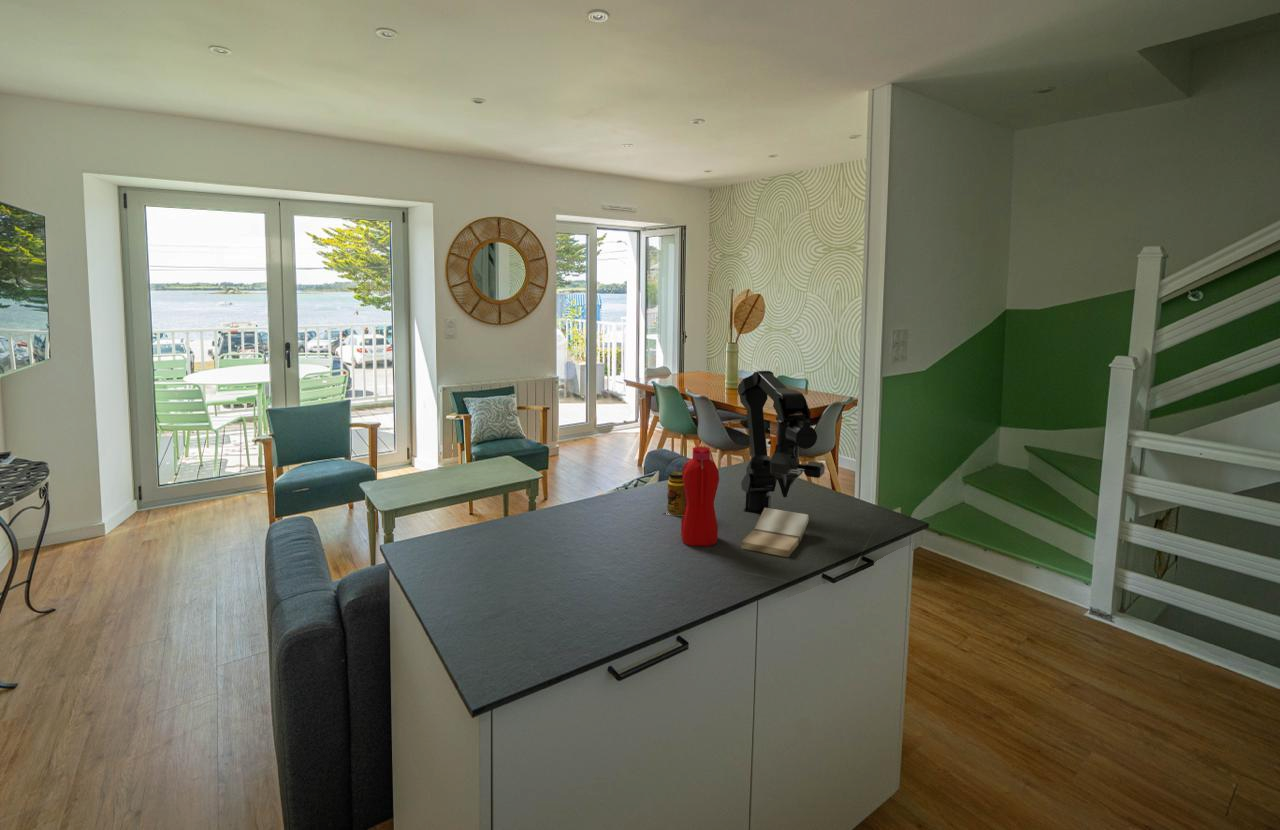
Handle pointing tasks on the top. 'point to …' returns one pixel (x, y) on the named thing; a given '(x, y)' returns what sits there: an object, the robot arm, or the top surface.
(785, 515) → the plank
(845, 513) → the top surface
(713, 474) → the water bottle
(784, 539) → the floor board
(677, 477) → the condiment
